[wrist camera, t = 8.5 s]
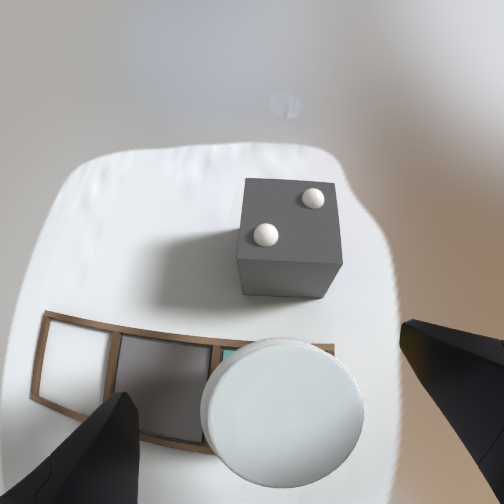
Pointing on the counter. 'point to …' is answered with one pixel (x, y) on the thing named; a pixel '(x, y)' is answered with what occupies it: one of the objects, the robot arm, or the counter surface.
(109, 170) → the counter surface
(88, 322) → the board
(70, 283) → the counter surface
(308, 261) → the die
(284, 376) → the supplement bottle
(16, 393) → the counter surface
